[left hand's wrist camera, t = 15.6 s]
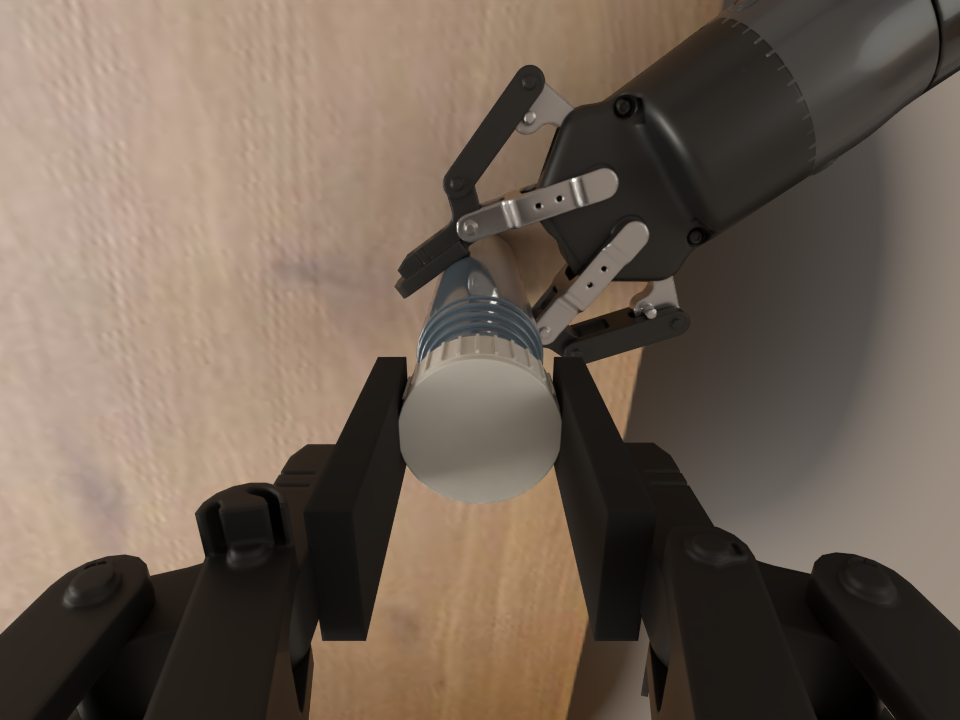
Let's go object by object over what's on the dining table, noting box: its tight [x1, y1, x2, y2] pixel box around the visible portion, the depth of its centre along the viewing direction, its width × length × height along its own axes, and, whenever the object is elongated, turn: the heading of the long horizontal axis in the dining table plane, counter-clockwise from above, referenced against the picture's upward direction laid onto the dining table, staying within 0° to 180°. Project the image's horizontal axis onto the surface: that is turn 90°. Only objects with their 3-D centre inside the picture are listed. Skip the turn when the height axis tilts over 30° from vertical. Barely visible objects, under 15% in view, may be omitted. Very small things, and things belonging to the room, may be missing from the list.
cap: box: [399, 334, 562, 504], centre depth 14 cm, size 4×4×2 cm
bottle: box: [417, 234, 543, 365], centre depth 22 cm, size 4×4×19 cm
